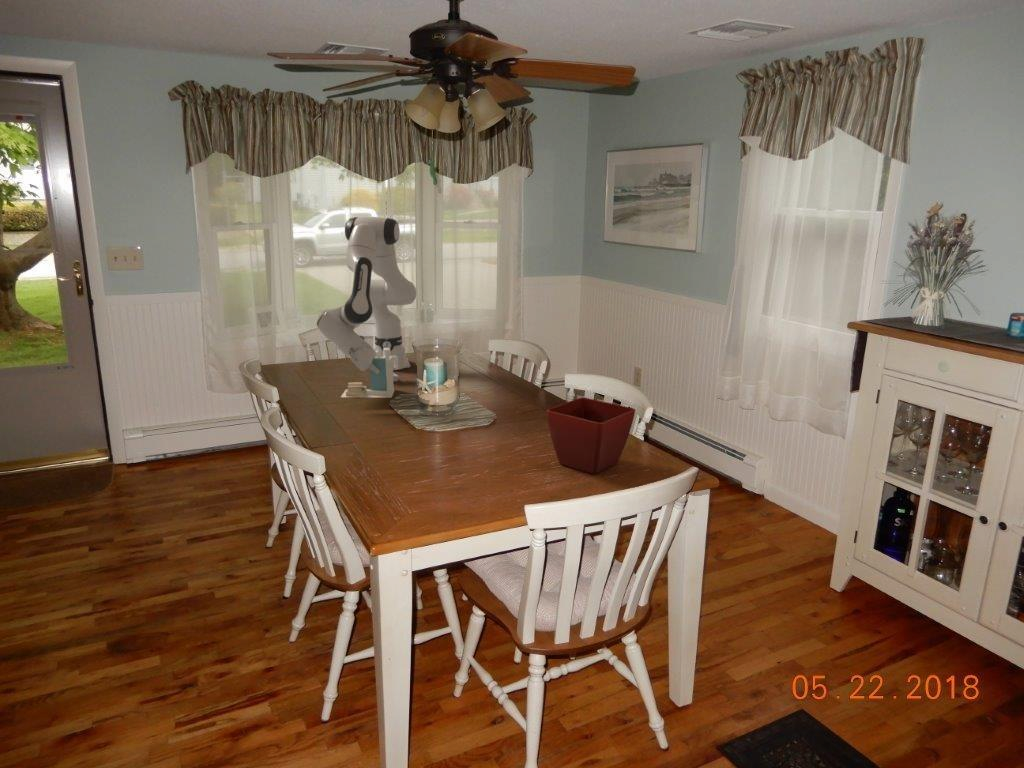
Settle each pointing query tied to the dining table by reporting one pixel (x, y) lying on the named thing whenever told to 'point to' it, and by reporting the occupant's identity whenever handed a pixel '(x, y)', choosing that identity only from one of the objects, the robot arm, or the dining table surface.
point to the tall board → (378, 375)
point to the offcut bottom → (357, 392)
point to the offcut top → (355, 386)
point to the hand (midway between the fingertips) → (379, 371)
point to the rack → (381, 393)
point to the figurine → (386, 355)
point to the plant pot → (589, 433)
